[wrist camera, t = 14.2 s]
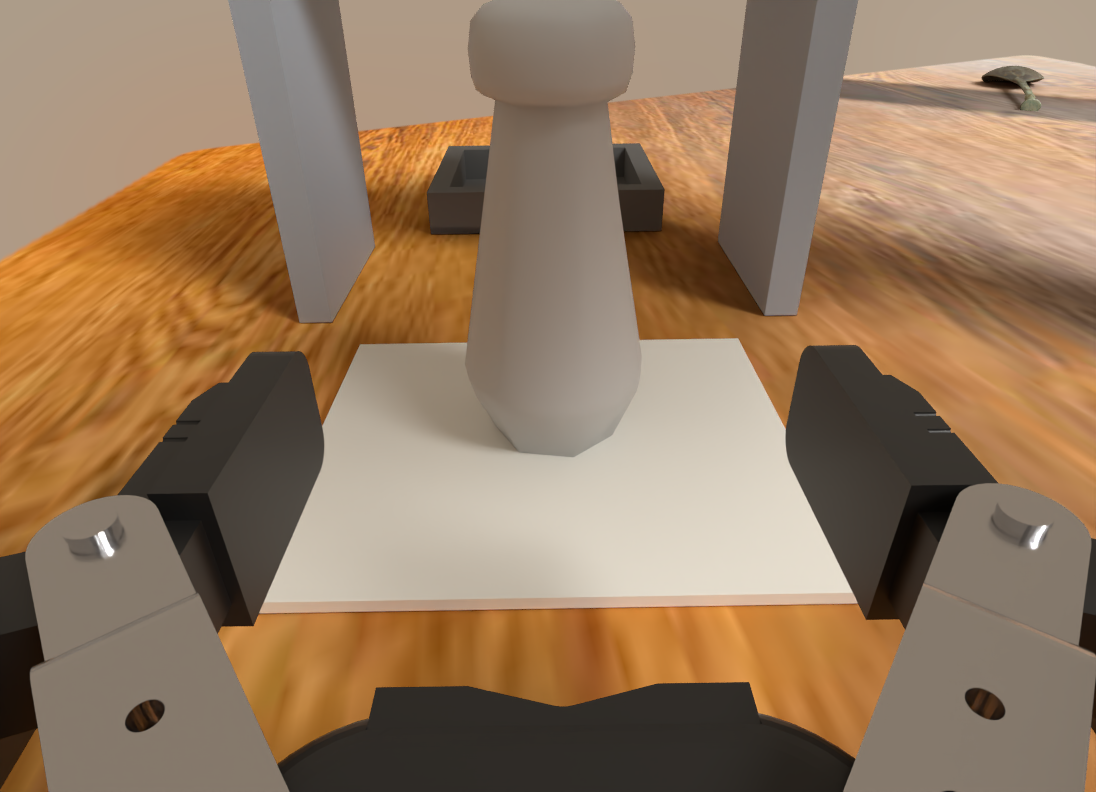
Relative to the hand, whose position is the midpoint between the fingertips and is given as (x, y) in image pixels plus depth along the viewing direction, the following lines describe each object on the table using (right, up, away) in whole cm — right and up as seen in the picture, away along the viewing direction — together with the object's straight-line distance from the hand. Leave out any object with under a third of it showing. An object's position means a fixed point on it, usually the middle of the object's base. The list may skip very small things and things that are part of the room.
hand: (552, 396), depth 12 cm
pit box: (0, +13, +36) cm, 38 cm away
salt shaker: (0, -1, +13) cm, 13 cm away
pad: (0, -2, +12) cm, 12 cm away
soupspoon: (+55, +35, +70) cm, 96 cm away
